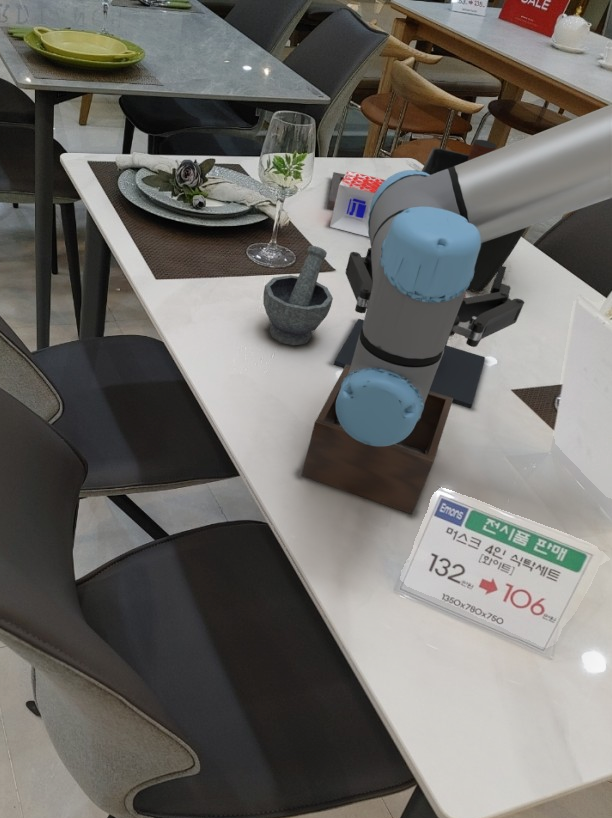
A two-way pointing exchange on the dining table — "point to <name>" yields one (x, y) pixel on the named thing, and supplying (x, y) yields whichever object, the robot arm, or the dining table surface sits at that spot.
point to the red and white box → (354, 202)
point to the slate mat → (452, 374)
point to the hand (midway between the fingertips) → (443, 260)
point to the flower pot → (491, 250)
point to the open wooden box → (376, 455)
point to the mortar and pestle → (297, 301)
